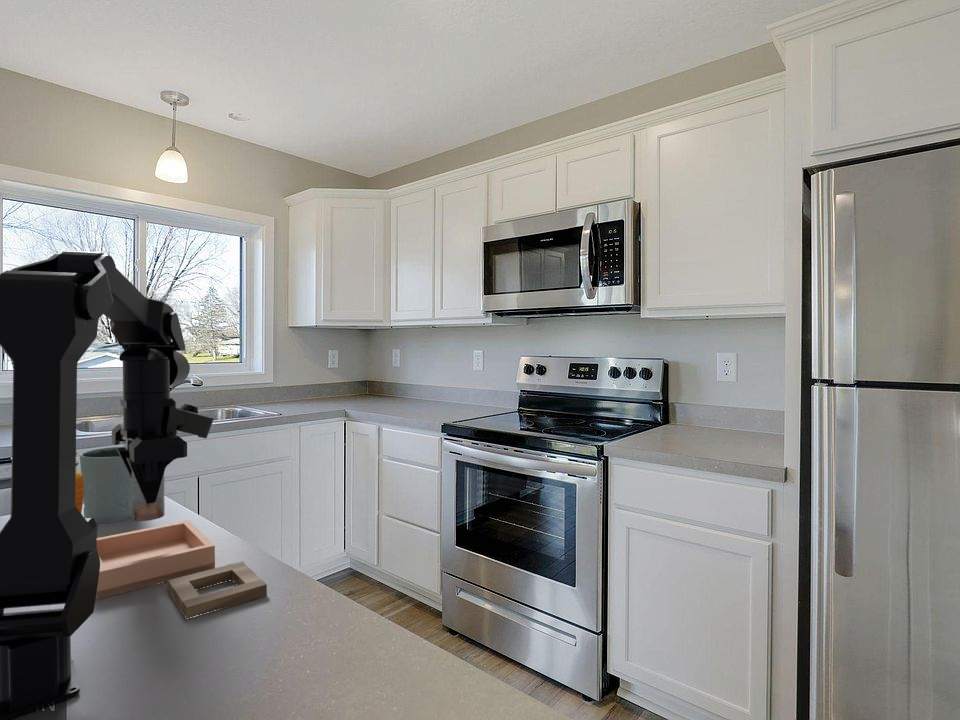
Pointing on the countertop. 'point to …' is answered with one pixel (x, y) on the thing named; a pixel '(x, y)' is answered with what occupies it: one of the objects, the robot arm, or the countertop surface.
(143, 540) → the terracotta tray
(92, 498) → the green embossed pot
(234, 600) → the walnut collar
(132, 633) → the countertop surface
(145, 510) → the gunmetal pin
